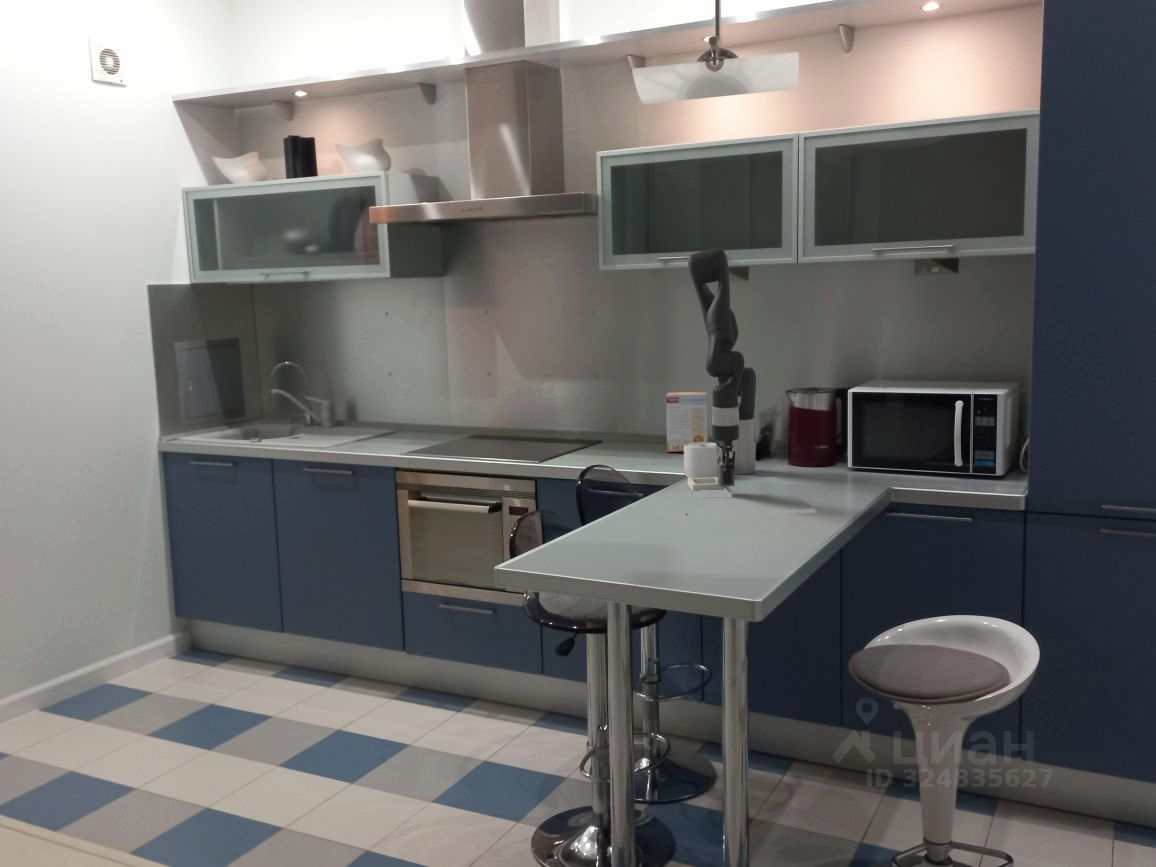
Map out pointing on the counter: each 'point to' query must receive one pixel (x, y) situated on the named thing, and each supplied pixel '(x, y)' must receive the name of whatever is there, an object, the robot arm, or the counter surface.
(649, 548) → the counter surface
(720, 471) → the plug
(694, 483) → the cream rectangular tray
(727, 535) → the counter surface
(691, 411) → the cracker box
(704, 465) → the toilet tissue
